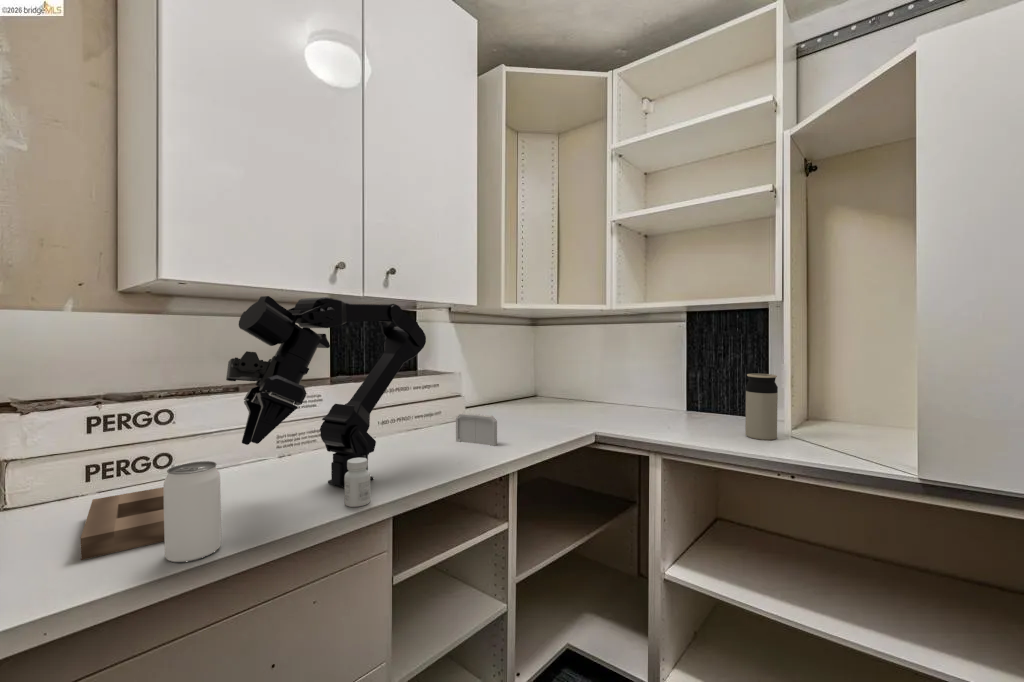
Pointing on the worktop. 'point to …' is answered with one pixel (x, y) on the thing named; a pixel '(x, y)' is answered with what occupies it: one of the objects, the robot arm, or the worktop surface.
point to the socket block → (123, 523)
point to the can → (192, 511)
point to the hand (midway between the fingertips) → (249, 443)
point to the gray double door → (476, 429)
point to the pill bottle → (357, 483)
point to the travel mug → (761, 407)
